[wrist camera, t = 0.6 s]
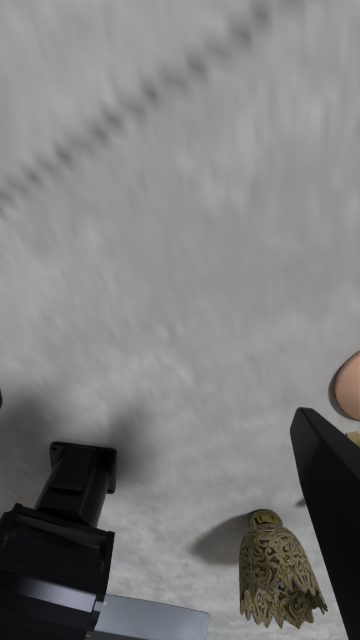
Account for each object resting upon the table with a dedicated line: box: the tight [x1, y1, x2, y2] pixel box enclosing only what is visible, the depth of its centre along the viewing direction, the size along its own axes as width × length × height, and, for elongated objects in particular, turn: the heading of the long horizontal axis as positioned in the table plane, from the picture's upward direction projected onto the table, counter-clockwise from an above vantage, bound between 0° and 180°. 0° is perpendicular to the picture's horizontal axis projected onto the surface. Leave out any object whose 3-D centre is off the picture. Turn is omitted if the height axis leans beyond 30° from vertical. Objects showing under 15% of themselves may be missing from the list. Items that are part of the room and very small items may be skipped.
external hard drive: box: [85, 594, 210, 640], centre depth 45 cm, size 13×19×4 cm
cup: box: [239, 510, 328, 629], centre depth 29 cm, size 8×7×8 cm
